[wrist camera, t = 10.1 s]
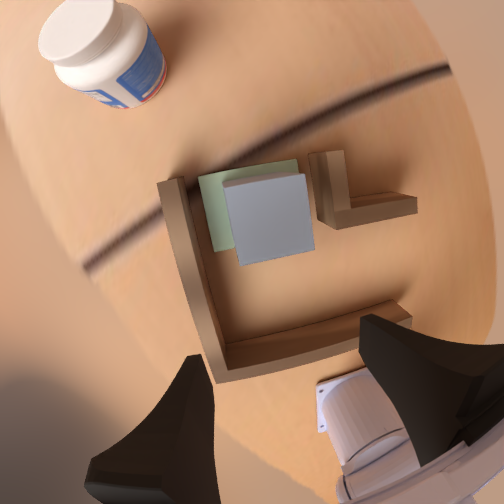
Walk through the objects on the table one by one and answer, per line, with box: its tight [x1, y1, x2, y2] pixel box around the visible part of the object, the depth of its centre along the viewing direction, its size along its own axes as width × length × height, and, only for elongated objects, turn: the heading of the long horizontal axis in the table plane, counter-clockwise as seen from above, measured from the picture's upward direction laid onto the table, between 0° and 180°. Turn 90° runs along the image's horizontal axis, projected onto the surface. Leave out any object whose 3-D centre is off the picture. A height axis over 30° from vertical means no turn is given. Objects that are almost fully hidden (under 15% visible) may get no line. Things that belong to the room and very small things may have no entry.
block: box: [222, 172, 315, 266], centre depth 16 cm, size 4×4×6 cm
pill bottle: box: [38, 0, 167, 109], centre depth 11 cm, size 6×5×10 cm
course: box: [157, 150, 418, 384], centre depth 20 cm, size 15×17×4 cm
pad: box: [198, 159, 299, 252], centre depth 19 cm, size 6×7×1 cm
